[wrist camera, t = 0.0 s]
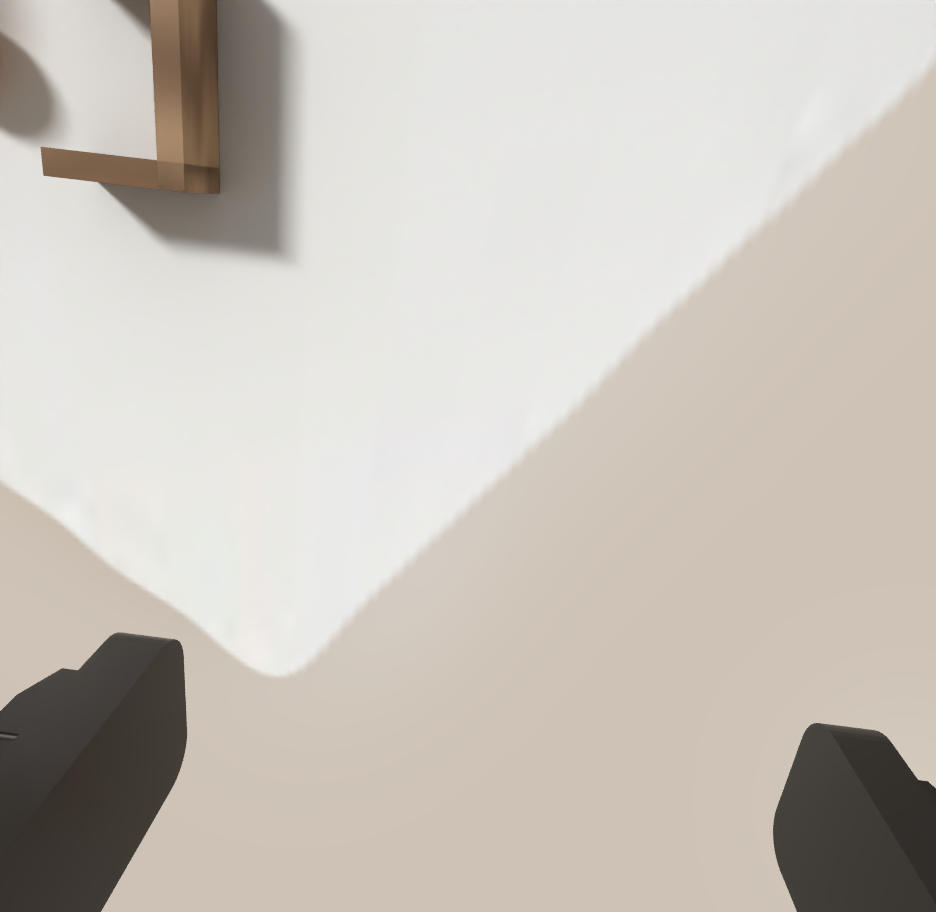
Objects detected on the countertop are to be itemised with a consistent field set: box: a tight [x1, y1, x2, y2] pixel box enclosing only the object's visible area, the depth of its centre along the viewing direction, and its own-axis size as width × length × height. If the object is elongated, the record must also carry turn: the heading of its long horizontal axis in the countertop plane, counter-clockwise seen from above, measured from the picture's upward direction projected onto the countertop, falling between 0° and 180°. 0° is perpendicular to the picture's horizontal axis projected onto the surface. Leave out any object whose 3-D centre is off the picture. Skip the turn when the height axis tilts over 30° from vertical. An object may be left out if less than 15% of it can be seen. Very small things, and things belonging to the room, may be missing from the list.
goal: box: [41, 0, 220, 194], centre depth 31 cm, size 10×6×4 cm, turn 174°
